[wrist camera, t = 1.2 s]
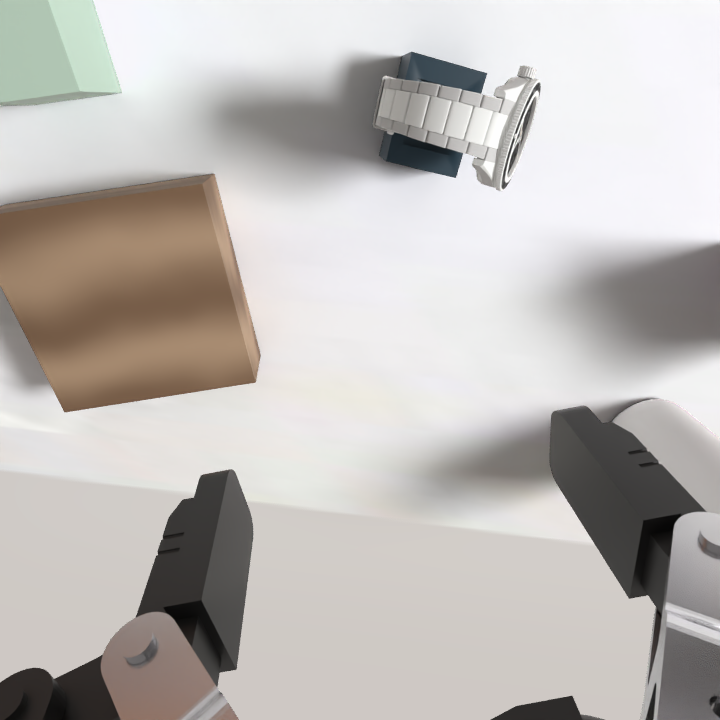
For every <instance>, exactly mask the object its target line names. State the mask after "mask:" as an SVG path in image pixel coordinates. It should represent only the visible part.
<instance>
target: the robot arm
mask: <svg viewBox="0 0 720 720" xmlns="http://www.w3.org/2000/svg"><path fill="white" fill-rule="evenodd" d="M550 467H551V471H552V474H553V477H554V479H555V481H556V483H557V485H558V486H559V488H560V490H561V491H562V493H563V494H564V496H565V498H566V499H567V501H568V502H569V504H570V506H571V507H572V509H573V510H574V512H575V513H576V515H577V517H578V518H579V520H580V521H581V523H582V525H583V526H584V528H585V529H586V531H587V532H588V534H589V536H590V537H591V539H592V540H593V542H594V544H595V545H596V547H597V548H598V550H599V551H600V553H601V555H602V556H603V558H604V559H605V561H606V563H607V564H608V566H609V567H610V569H611V571H612V572H613V574H614V575H615V577H616V578H617V580H618V581H619V583H620V585H621V586H622V588H623V590H624V591H625V593H626V594H627V596H628V597H629V598H635V597H641V596H646V595H648V596H649V597H650V599H651V600H652V601H653V603H654V604H655V606H656V609H655V614H654V620H653V629H652V637H651V645H650V653H649V662H648V670H647V677H646V685H645V693H644V700H643V707H642V713H641V718H640V720H720V514H715V513H711V512H707V511H705V510H704V508H703V507H702V506H701V505H700V504H699V503H698V502H697V501H696V500H695V499H694V498H693V497H692V496H691V495H690V494H689V493H688V492H687V490H686V489H685V488H684V487H683V486H682V485H681V484H680V483H679V482H678V481H677V480H676V479H675V478H674V477H673V476H672V475H671V474H670V472H669V471H668V470H667V469H666V468H665V467H664V466H663V465H662V464H659V462H658V460H657V459H656V458H655V457H654V456H653V455H652V453H651V452H650V451H649V452H648V451H647V448H646V447H645V446H644V445H643V444H642V443H641V442H640V441H639V440H638V439H637V438H636V437H635V435H634V434H633V433H631V432H629V431H627V430H626V429H624V428H622V427H620V426H618V425H617V424H615V423H613V422H608V423H603V424H602V423H601V421H600V420H599V419H598V418H597V417H596V416H595V415H594V414H593V412H592V411H591V410H590V409H589V408H588V407H586V406H579V407H574V408H568V409H563V410H557V411H554V412H553V413H552V416H551V433H550ZM252 542H253V523H252V518H251V514H250V511H249V508H248V505H247V502H246V500H245V497H244V494H243V492H242V489H241V486H240V484H239V481H238V478H237V476H236V473H235V472H234V470H232V469H231V470H225V471H220V472H215V473H209V474H204V475H202V476H201V477H200V479H199V482H198V486H197V489H196V493H195V496H194V498H189V499H184V500H182V501H181V503H180V504H179V505H178V506H177V508H176V509H175V510H174V511H173V513H172V514H171V515H170V517H169V519H168V522H167V525H166V528H165V531H164V534H163V540H161V543H160V546H159V549H158V555H157V556H156V558H155V562H154V564H153V567H152V570H151V573H150V576H149V579H148V582H147V585H146V588H145V591H144V595H143V597H142V600H141V604H140V607H139V610H138V613H137V615H136V618H134V619H133V620H131V621H130V622H128V623H127V624H125V625H124V626H123V627H122V628H121V629H120V630H119V631H118V632H117V633H116V634H115V635H114V636H113V637H112V639H111V640H110V642H109V643H108V645H107V647H106V649H105V651H104V653H103V655H101V656H100V657H98V658H96V659H94V660H92V661H90V662H88V663H86V664H84V665H82V666H80V667H78V668H76V669H74V670H72V671H70V672H68V673H66V674H64V675H62V676H60V677H58V678H56V679H53V677H52V676H51V675H50V674H49V673H48V672H47V671H45V670H44V669H40V668H30V669H26V670H23V671H20V672H17V673H15V674H13V675H11V676H10V677H8V678H6V679H5V680H3V681H2V682H1V683H0V720H239V719H238V717H237V716H236V714H235V713H234V711H233V710H232V708H231V707H230V705H229V703H228V702H227V700H226V699H225V697H224V696H223V694H222V693H220V691H219V690H218V688H217V685H218V679H219V673H220V672H225V671H231V670H236V669H237V661H238V653H239V645H240V637H241V629H242V622H243V613H244V606H245V597H246V590H247V582H248V573H249V565H250V558H251V550H252ZM491 720H604V719H600V718H596V717H592V716H588V715H580V712H579V710H578V708H577V706H576V703H575V701H574V699H573V697H572V696H569V697H563V698H558V699H552V700H547V701H541V702H536V703H531V704H525V705H520V706H516V707H514V708H512V709H510V710H508V711H506V712H504V713H502V714H501V715H499V716H497V717H495V718H493V719H491Z"/></svg>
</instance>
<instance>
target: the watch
mask: <svg viewBox="0 0 720 720" xmlns="http://www.w3.org/2000/svg"><path fill="white" fill-rule="evenodd" d="M536 72H537V70H536V69H535V68H532V67H528V66H520V69H519V72H518V75H517V76H519V77H514V78H510V79H509V80H508V81H507V82H506V83H505V85H503V86H500V87H497V88H496V89H495V93H494V96H496V98H495V97H491V96H486V95H483V94H481V92H482V89H483V85H484V82H485V79H486V75H487V73H484V72H481V71H477V70H474V69H470V68H467V67H463V66H460V65H456V64H453V63H449V62H446V61H442V60H439V59H435V58H432V57H428V56H425V55H421V54H418V53H414V52H410V53H408V54H406V55H403V56H402V58H401V62H400V66H399V71H398V75H397V79H396V78H392V77H389V76H384V77H383V78H382V82H381V86H380V90H379V95H378V99H377V103H376V108H375V113H374V119H373V124H372V125H373V127H374V128H376V129H380V130H384V131H385V132H384V136H383V141H382V145H381V150H380V154H379V156H380V157H382V158H383V159H384V160H385V161H387V162H391V163H396V164H400V165H404V166H408V167H412V168H416V169H421V170H425V171H429V172H433V173H437V174H442V175H446V176H450V177H454V178H456V175H457V172H458V169H459V165H460V162H461V159H462V155H463V153H464V154H465V153H466V154H469V155H472V156H475V157H477V158H474V160H473V163H472V165H473V167H474V168H475V169H476V172H477V179H478V181H479V182H480V183H481V184H484V185H487V186H491V187H496V190H499V191H503V190H504V189H505V187H506V186H507V185H508V183H509V181H510V180H511V178H512V176H513V173H514V171H515V169H516V167H517V165H518V163H519V160H520V158H521V155H522V153H523V150H524V148H525V145H526V142H527V139H528V136H529V133H530V130H531V127H532V124H533V120H534V117H535V113H536V109H537V104H538V100H539V95H540V80H538V79H534V78H535V75H536Z"/></svg>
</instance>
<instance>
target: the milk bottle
mask: <svg viewBox="0 0 720 720" xmlns="http://www.w3.org/2000/svg"><path fill="white" fill-rule="evenodd" d="M612 422H613V423H615V424H617V425H618V426H620V427H622V428H624V429H626V430H627V431H629V432H631V433H633V434H634V435H635V437H636V438H637V439H638V440H639V441H640V442H641V443H642V444H643V445H644V446H645V447H646V448H647V451H648V452H649V451H650V452H651V453H652V455H653V456H654V457H655V458H656V459H657V460H658V462H659V464H662V465H663V466H664V467H665V468H666V469H667V470H668V471H669V472H670V474H671V475H672V476H673V477H674V478H675V479H676V480H677V481H678V482H679V483H680V484H681V485H682V486H683V487H684V488H685V489H686V490H687V492H688V493H689V494H690V495H691V496H692V497H693V498H694V499H695V500H696V501H697V502H698V503H699V504H700V505H701V506H702V507H703V508H704V510H705V511H707V512H711V513H715V514H720V438H719V437H718V436H717V435H716V434H714V433H713V432H712V431H711V430H710V429H708V428H707V427H706V426H705V425H704V424H702V423H701V422H700V421H699V420H697V419H696V418H695V417H694V416H693V415H691V414H690V413H689V412H688V411H686V410H685V409H684V408H682V407H681V406H680V405H678V404H677V403H674V402H671V401H668V400H662V399H651V400H646V401H642V402H639V403H636V404H634V405H632V406H630V407H628V408H627V409H625V410H624V411H622V412H621V413H620V414H619V415H618V416H617V417H615V418H614V419H613V421H612Z"/></svg>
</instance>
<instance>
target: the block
mask: <svg viewBox="0 0 720 720" xmlns="http://www.w3.org/2000/svg"><path fill="white" fill-rule="evenodd" d="M117 93H122V91H121V88H120V84H119V81H118V78H117V75H116V72H115V69H114V65H113V62H112V59H111V56H110V53H109V50H108V46H107V43H106V40H105V37H104V34H103V31H102V27H101V24H100V21H99V18H98V15H97V12H96V8H95V5H94V2H93V0H0V106H17V105H39V104H46V103H53V102H60V101H67V100H74V99H81V98H88V97H96V96H103V95H110V94H117Z"/></svg>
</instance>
